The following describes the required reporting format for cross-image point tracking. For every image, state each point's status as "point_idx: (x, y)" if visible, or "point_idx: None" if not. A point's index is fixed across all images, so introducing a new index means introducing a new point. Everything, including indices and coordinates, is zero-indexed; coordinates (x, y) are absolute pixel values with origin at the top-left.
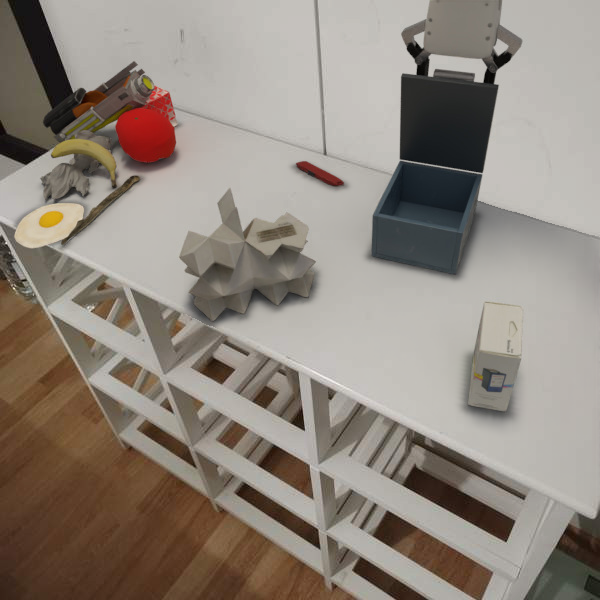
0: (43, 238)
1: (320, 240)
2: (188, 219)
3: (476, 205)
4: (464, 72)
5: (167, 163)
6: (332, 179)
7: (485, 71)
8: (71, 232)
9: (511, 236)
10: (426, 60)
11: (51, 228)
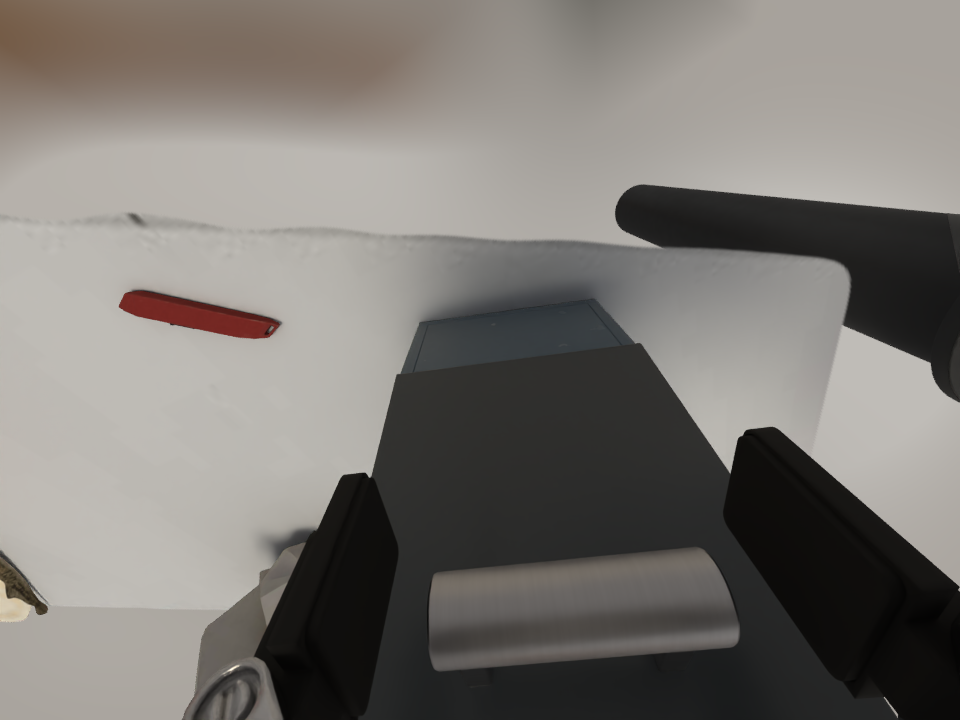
0: (10, 610)
1: (355, 470)
2: (126, 512)
3: (603, 308)
4: (659, 645)
5: None
6: (248, 331)
7: (849, 669)
8: (28, 602)
9: (679, 328)
10: (324, 698)
11: None
